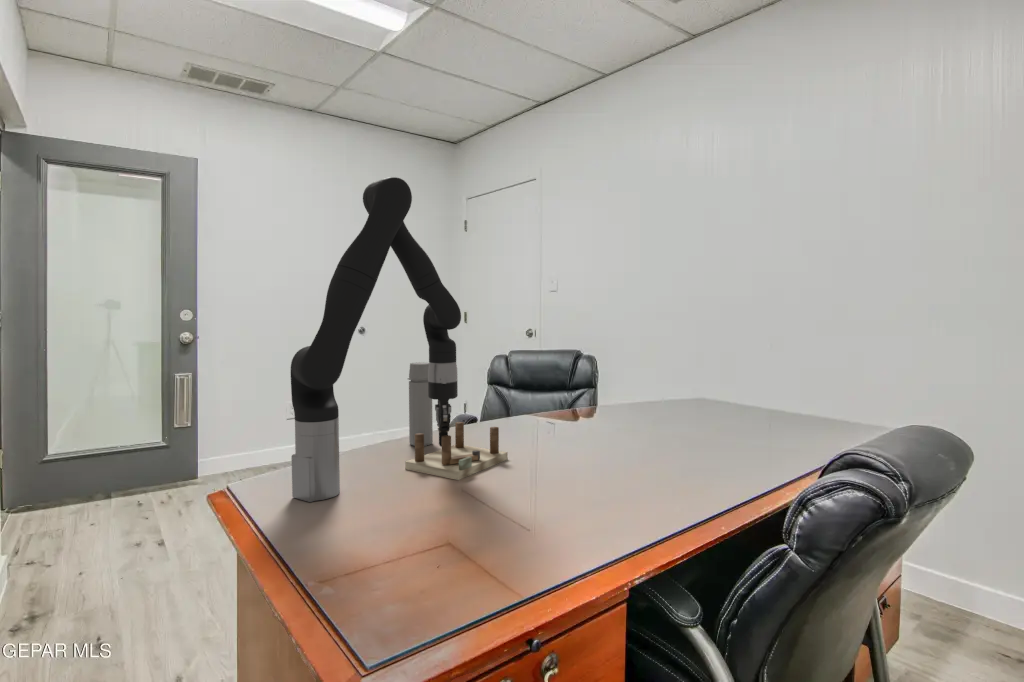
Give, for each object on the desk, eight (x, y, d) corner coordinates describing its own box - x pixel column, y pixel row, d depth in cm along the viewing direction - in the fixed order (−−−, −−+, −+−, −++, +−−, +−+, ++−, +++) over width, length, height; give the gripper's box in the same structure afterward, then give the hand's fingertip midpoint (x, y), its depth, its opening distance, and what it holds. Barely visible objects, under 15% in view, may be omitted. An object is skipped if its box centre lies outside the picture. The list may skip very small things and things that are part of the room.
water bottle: (431, 447, 166) (431, 364, 165) (405, 447, 166) (404, 364, 165) (436, 440, 175) (436, 361, 174) (412, 439, 175) (411, 361, 174)
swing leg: (477, 457, 146) (477, 431, 146) (481, 459, 144) (481, 432, 144) (440, 463, 141) (440, 436, 140) (444, 465, 139) (443, 437, 138)
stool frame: (458, 480, 134) (458, 443, 134) (405, 469, 143) (405, 434, 143) (507, 459, 153) (507, 427, 152) (457, 450, 162) (457, 420, 161)
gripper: (426, 376, 148) (427, 440, 149) (429, 383, 135) (430, 453, 136) (454, 376, 150) (454, 439, 151) (460, 382, 137) (460, 451, 138)
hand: (443, 445), depth 143 cm, fingers closed
